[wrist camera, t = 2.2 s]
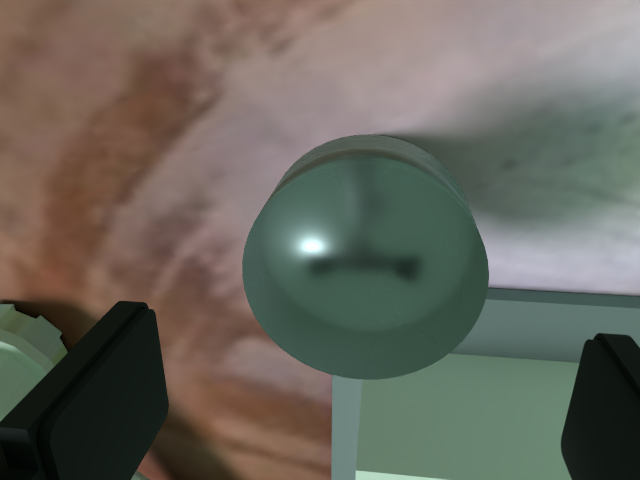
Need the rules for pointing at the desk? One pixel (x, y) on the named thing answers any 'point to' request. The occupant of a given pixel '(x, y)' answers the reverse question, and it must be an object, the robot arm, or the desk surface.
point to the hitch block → (479, 395)
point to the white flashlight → (27, 357)
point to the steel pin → (366, 260)
